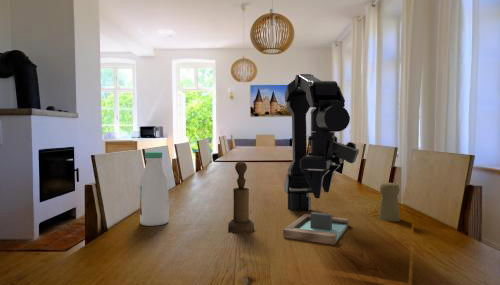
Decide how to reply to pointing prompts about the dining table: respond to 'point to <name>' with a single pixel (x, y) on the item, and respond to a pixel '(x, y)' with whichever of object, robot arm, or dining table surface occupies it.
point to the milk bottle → (153, 191)
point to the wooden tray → (312, 231)
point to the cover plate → (334, 228)
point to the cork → (389, 202)
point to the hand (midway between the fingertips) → (322, 195)
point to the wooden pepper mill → (241, 204)
